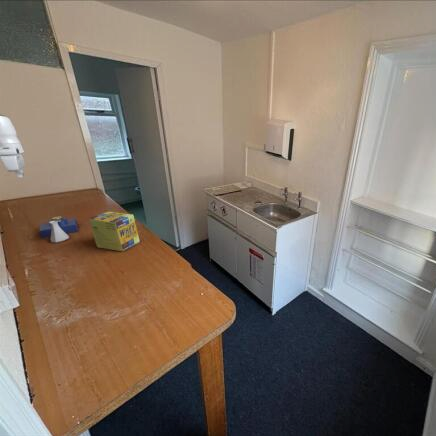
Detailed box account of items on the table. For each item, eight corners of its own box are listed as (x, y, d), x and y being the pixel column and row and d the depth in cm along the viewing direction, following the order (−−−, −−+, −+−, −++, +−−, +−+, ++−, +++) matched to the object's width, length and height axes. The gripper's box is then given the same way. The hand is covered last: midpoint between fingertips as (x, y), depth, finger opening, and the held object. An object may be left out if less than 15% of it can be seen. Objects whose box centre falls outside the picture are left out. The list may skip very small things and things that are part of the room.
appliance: (42, 238, 120) (37, 227, 118) (44, 230, 128) (40, 220, 125) (77, 231, 128) (74, 221, 126) (78, 224, 136) (74, 215, 134)
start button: (52, 222, 125) (51, 219, 124) (53, 220, 127) (52, 217, 127) (62, 220, 127) (61, 218, 126) (63, 218, 130) (61, 215, 129)
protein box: (123, 251, 111) (115, 222, 105) (96, 247, 114) (87, 218, 108) (140, 241, 121) (134, 214, 115) (115, 237, 123) (107, 210, 117)
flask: (65, 234, 124) (58, 217, 120) (72, 238, 121) (66, 220, 117) (47, 240, 118) (40, 222, 114) (54, 244, 115) (47, 225, 111)
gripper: (4, 147, 119) (16, 173, 124) (-6, 152, 104) (8, 182, 110) (22, 146, 122) (33, 172, 128) (15, 151, 108) (27, 180, 114)
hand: (21, 177), depth 119 cm, fingers closed
